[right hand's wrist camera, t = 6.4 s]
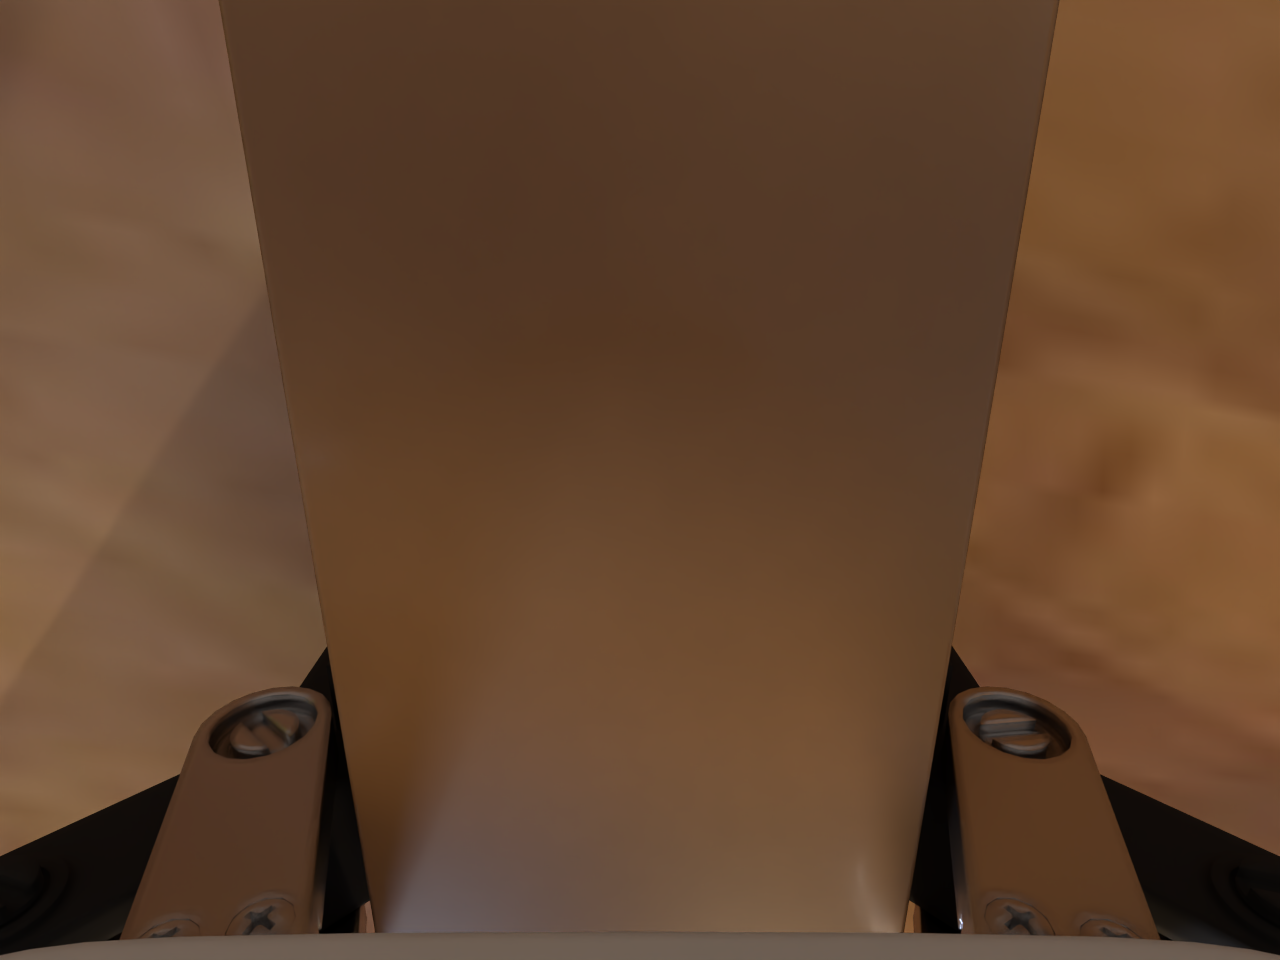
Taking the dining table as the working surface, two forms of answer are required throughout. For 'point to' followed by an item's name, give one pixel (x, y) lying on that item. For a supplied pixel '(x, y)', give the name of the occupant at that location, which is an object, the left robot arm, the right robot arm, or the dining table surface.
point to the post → (639, 430)
